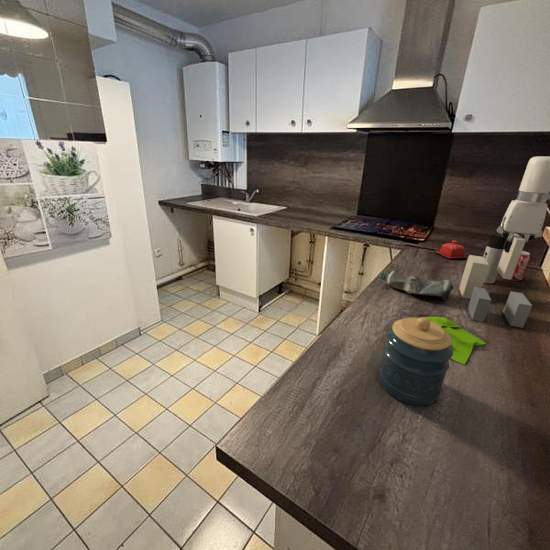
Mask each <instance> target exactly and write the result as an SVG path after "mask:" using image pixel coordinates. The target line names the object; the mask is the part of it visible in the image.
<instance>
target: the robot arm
mask: <svg viewBox="0 0 550 550" xmlns="http://www.w3.org/2000/svg"><path fill="white" fill-rule="evenodd" d="M547 201H550V156H548V155H547V156H541V155H540V156H538V155H537V156H532V157H531V158H530V159H529V160H528V162H527V165H526V169H525V171H524V174H523V176H522V180H521V182H520V185H519V188H518V192H517V194H516V197H515V200H514V199H513V200H511V202H510V203H509V205H508V207H507V209H506V211H505V213H504V215H503V217H502V220H501V223H500V225H499V226H498V227H497V228H496V229H495V231H496V233H500V234H502V235H503V236H504V238H505V239H506V241H505V244H504V247H503V249H504V251H505V252H506V253H508V252H509V250H510V248H511V245H512V237H513V235H514V234H521V237H522V238H523V239H525V240H526V241H525V244H524V247H523V249H522V251H524V248H525V246H526V244H527V243H528V242H530V241H532V240H533V239H538V238H542V237H543V236H544V233H543V230H542V229H543V226H544V223H545V219H546V216H547V209H548V203H547Z"/></svg>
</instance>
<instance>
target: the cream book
mask: <svg viewBox="0 0 550 550" xmlns="http://www.w3.org/2000/svg"><path fill="white" fill-rule="evenodd" d="M525 241H526V240H525V239H523V238H522V235H520V234H519V233H514V235H513V237H512V245H511V248H510V250H509V252H508V253H506V252H505V251H504V250H503V253H502V256H501V259H500V262H499V264H498V267H497V271H498V274H499V275H500V277H501V278H502V279H504V280H508V279H510V280H509V281H512V280H511V279H512V276H513V273H514V271H515V268H516V265H517V263H518V260H519V257H520V255H521V252H522V249H523V247H524V248H525V246H524V244H525V245H526V243H525ZM523 250H524V249H523Z"/></svg>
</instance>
